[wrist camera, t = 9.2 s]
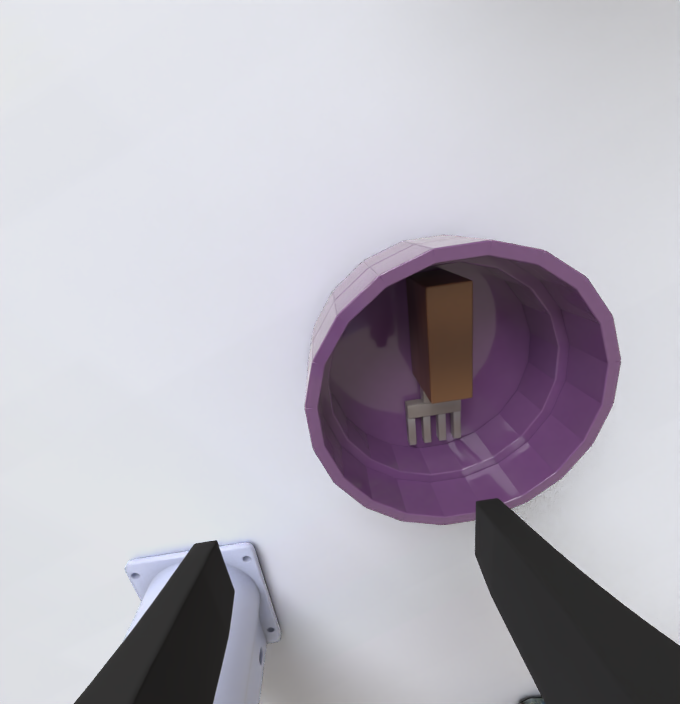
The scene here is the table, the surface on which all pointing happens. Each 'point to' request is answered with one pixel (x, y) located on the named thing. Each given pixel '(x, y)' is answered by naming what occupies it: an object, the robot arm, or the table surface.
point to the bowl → (488, 381)
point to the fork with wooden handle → (439, 350)
